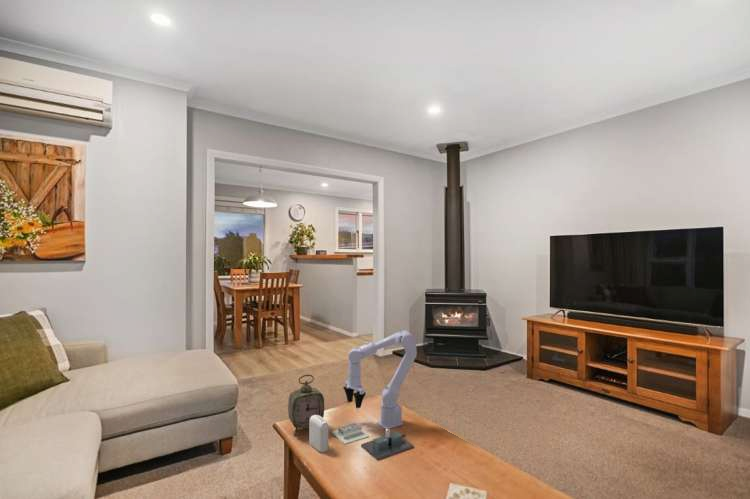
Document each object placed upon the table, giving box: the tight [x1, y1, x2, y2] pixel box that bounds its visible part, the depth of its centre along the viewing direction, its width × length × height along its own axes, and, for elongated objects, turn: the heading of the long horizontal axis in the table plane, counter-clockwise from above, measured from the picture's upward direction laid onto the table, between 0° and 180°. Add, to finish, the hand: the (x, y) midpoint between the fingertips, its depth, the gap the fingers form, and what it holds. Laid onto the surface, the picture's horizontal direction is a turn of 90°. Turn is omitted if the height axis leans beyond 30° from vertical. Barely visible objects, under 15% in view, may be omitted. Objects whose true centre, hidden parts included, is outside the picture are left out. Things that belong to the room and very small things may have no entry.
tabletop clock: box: [287, 374, 325, 436], centre depth 168 cm, size 14×9×25 cm, turn 117°
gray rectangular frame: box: [337, 422, 363, 439], centre depth 165 cm, size 9×5×3 cm, turn 125°
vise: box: [360, 428, 415, 461], centre depth 155 cm, size 18×12×8 cm, turn 124°
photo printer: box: [308, 415, 329, 453], centre depth 155 cm, size 10×4×12 cm, turn 39°
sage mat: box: [331, 429, 370, 445], centre depth 165 cm, size 12×12×1 cm
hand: (354, 404), depth 174 cm, fingers open, 7 cm apart
